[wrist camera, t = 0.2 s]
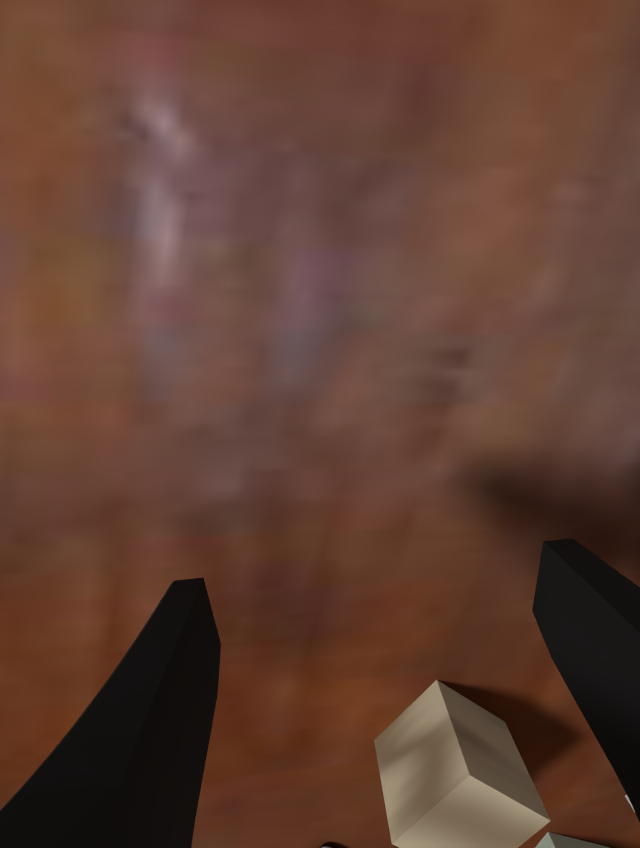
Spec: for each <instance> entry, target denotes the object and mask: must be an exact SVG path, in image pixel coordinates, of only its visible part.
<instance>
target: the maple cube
mask: <svg viewBox="0 0 640 848" xmlns="http://www.w3.org/2000/svg"><path fill="white" fill-rule="evenodd" d="M374 743H375V749H376V754H377V760H378V766H379V772H380V777H381V783H382V789H383V795H384V800H385V806H386V812H387V818H388V824H389V829H390V835H391V841H392V844H393V845H395V846H397V847H399V848H518V847H519V846H520V845H522V844H523V843H524V842H525V841H526V840H528V839H529V838H530V837H531V836H533V835H534V834H535V833H536V832H538V831H539V830H540V829H541V828H543V827H544V826H545V825H546V824H547V823H549V822H550V821H551V820H550V818H549V816H548V814H547V812H546V810H545V807H544V805H543V803H542V801H541V799H540V797H539V794H538V792H537V790H536V788H535V786H534V784H533V781H532V779H531V777H530V775H529V773H528V771H527V768H526V766H525V764H524V762H523V760H522V758H521V755H520V753H519V751H518V749H517V747H516V745H515V743H514V740H513V738H512V736H511V734H510V732H509V730H508V727H507V725H506V723H505V722H504V721H503V720H501V719H500V718H498V717H496V716H495V715H493V714H491V713H490V712H488V711H487V710H485V709H483V708H482V707H480V706H478V705H477V704H475V703H474V702H472V701H470V700H469V699H467V698H465V697H464V696H462V695H460V694H459V693H457V692H456V691H454V690H452V689H451V688H449V687H447V686H446V685H444V684H443V683H441V682H439V681H438V680H436V681H435V682H434V683H433V684H432V685H431V686H430V687H429V688H428V689H427V690H426V691H425V692H424V693H423V694H422V695H421V696H420V697H419V698H418V699H417V700H415V701H414V702H413V703H412V704H411V705H410V706H409V707H408V708H407V709H406V710H405V711H404V712H403V713H402V714H401V715H400V716H399V717H398V718H397V719H396V720H395V721H394V722H393V723H392V724H391V725H390V726H389V727H387V728H386V729H385V730H384V731H383V732H382V733H381V734H380V735H379V736H378V737H377V738H376V739H375V740H374Z"/></svg>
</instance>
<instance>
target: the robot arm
mask: <svg viewBox="0 0 640 848" xmlns="http://www.w3.org/2000/svg"><path fill="white" fill-rule="evenodd" d="M532 611H533V613H534V616H535V618H536V621H537V624H538V626H539V629H540V631H541V634H542V636H543V638H544V641H545V643H546V645H547V648H548V650H549V652H550V655H551V657H552V659H553V661H554V663H555V665H556V667H557V668H558V670H559V672H560V674H561V676H562V677H563V679H564V681H565V683H566V685H567V687H568V688H569V690H570V692H571V694H572V696H573V697H574V699H575V701H576V703H577V705H578V706H579V708H580V710H581V712H582V713H583V715H584V717H585V719H586V721H587V722H588V724H589V726H590V728H591V729H592V731H593V733H594V735H595V737H596V738H597V740H598V742H599V744H600V746H601V747H602V749H603V751H604V753H605V754H606V756H607V758H608V760H609V762H610V763H611V765H612V767H613V769H614V771H615V772H616V774H617V776H618V778H619V780H620V782H621V784H622V786H623V788H624V790H625V792H626V794H627V796H628V798H629V800H630V802H631V804H632V806H633V809H634V811H635V813H636V815H637V817H638V819H639V822H640V587H638V586H637V585H635V584H634V583H633V582H631V581H630V580H629V579H627V578H626V577H624V576H623V575H622V574H620V573H619V572H618V571H616V570H615V569H613V568H612V567H611V566H609V565H608V564H607V563H605V562H604V561H603V560H601V559H600V558H599V557H597V556H596V555H594V554H593V553H592V552H590V551H589V550H588V549H586V548H585V547H583V546H582V545H581V544H579V543H578V542H576V541H575V540H573V539H564V540H555V541H545V542H543V548H542V554H541V560H540V566H539V572H538V579H537V585H536V591H535V597H534V603H533V610H532ZM220 649H221V643H220V639H219V635H218V631H217V628H216V624H215V620H214V616H213V612H212V609H211V605H210V601H209V597H208V594H207V590H206V586H205V582H204V578H196V579H186V580H177V581H174V582H173V583H172V584H171V585H170V587H169V588H168V590H167V591H166V593H165V595H164V596H163V598H162V599H161V601H160V603H159V604H158V606H157V607H156V609H155V611H154V612H153V614H152V615H151V617H150V618H149V620H148V622H147V623H146V625H145V626H144V628H143V629H142V631H141V632H140V634H139V635H138V637H137V638H136V640H135V641H134V643H133V644H132V646H131V647H130V649H129V650H128V652H127V653H126V654H125V656H124V657H123V659H122V660H121V662H120V663H119V665H118V666H117V667H116V669H115V670H114V672H113V673H112V675H111V676H110V677H109V679H108V680H107V682H106V683H105V684H104V686H103V687H102V688H101V690H100V691H99V692H98V694H97V695H96V696H95V698H94V699H93V700H92V702H91V703H90V704H89V706H88V707H87V708H86V710H85V711H84V712H83V714H82V715H81V716H80V718H79V719H78V720H77V722H76V723H75V724H74V725H73V727H72V728H71V729H70V730H69V732H68V733H67V734H66V735H65V737H64V738H63V739H62V740H61V742H60V743H59V744H58V745H57V746H56V748H55V749H54V750H53V751H52V753H51V754H50V755H49V756H48V757H47V758H46V760H45V761H44V762H43V763H42V764H41V766H40V767H39V768H38V769H37V770H36V771H35V773H34V774H33V775H32V776H31V777H30V778H29V780H28V781H27V782H26V783H25V784H24V785H23V786H22V787H21V789H20V790H19V791H18V792H17V793H16V794H15V795H14V796H13V797H12V798H11V799H10V801H9V802H8V803H7V804H6V805H5V806H4V807H3V808H2V809H1V810H0V848H191V844H192V837H193V830H194V823H195V817H196V811H197V806H198V800H199V794H200V789H201V783H202V778H203V772H204V767H205V761H206V756H207V750H208V745H209V739H210V734H211V728H212V722H213V717H214V711H215V705H216V699H217V692H218V679H219V665H220ZM321 848H331V847H328V846H324V847H321Z"/></svg>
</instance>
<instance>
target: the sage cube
mask: <svg viewBox="0 0 640 848" xmlns="http://www.w3.org/2000/svg"><path fill="white" fill-rule="evenodd" d="M536 848H610V847H606V846H602V845H598V844H594V843H590V842H586V841H582V840H578V839H574V838H570V837H566V836H562V835H559V834H555V833H551V832H548V833H547V834H546V835H545V836H544V838H543V839H542V840H541V841H540V843H539V844H538V845H537V846H536Z"/></svg>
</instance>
